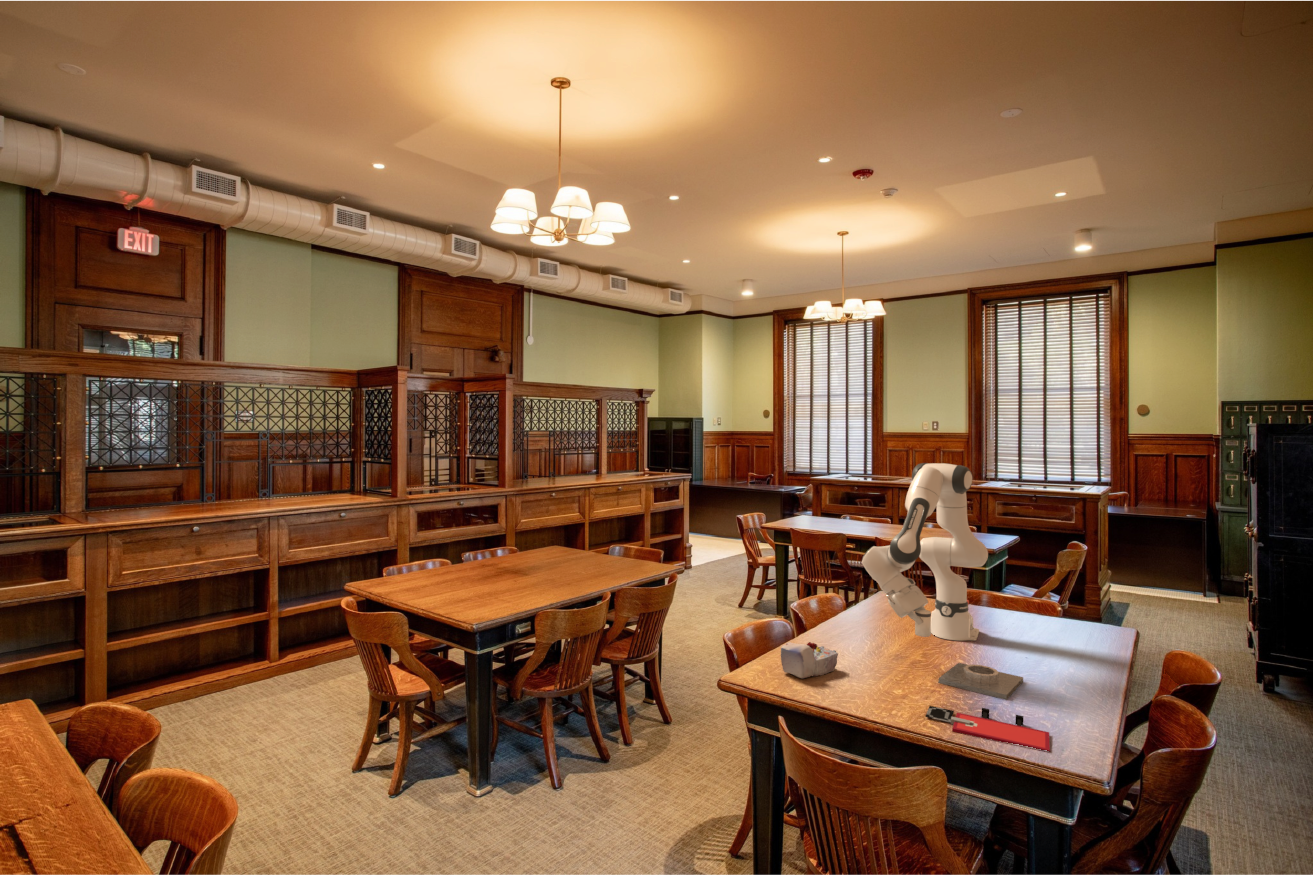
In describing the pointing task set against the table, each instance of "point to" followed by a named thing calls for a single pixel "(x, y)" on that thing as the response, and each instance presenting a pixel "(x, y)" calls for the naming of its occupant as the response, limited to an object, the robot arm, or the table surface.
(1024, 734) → the red board with handle
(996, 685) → the ring mount
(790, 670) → the cell model
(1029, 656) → the table surface
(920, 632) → the banded peg cylinder
